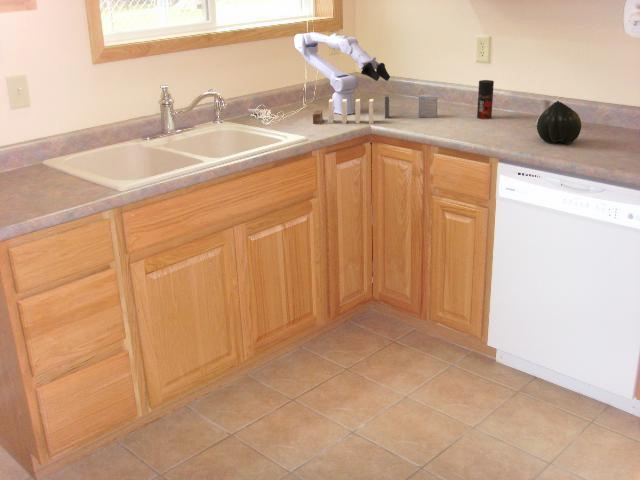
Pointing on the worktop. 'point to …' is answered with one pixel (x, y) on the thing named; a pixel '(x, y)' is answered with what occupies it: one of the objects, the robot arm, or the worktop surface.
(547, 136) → the squash
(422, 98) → the medicine box
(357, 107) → the domino
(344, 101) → the domino
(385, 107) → the domino
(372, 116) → the domino
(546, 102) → the flask
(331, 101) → the domino
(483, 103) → the deodorant
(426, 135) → the worktop surface
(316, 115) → the block
